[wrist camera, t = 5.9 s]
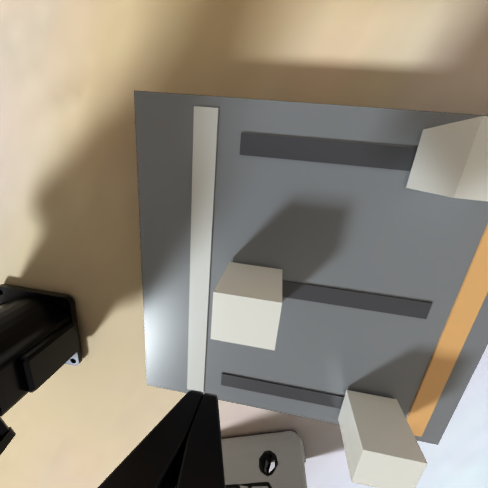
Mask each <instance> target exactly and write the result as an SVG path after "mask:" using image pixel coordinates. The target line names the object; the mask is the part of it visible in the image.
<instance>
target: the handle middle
mask: <svg viewBox="0 0 488 488" xmlns="http://www.w3.org/2000/svg"><path fill="white" fill-rule="evenodd" d="M281 307H282V269H275V268H268V267H262V266H255V265H248V264H241V263H234V262H229V263H228V265H227V267H226V269H225V271H224V273H223V275H222V277H221V278H220V280H219V282H218V284H217V286H216V288H215V290H214V292H213V305H212V322H211V339H213V340H219V341H224V342H230V343H235V344H241V345H247V346H252V347H258V348H263V349H269V350H274V351H275V345H276V338H277V332H278V326H279V320H280V314H281Z"/></svg>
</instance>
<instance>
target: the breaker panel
mask: <svg viewBox="0 0 488 488" xmlns="http://www.w3.org/2000/svg"><path fill="white" fill-rule="evenodd" d="M134 100H135V123H136V146H137V169H138V192H139V215H140V238H141V261H142V284H143V307H144V330H145V353H146V376H147V385H149V386H154V387H159V388H164V389H169V390H174V391H179V392H184V393H188V392H189V391H190V390H196V391H201V392H203V394H204V393H211V394H216V395H217V397H218V400H223V401H227V402H232V403H237V404H242V405H247V406H252V407H257V408H262V409H266V410H271V411H276V412H281V413H286V414H291V415H296V416H300V417H305V418H310V419H315V420H320V421H325V422H330V423H335V424H339V421H338V417H339V414H340V410H341V407H342V403H343V400H344V397H345V393H346V390H350V391H355V392H361V393H366V394H371V395H376V396H382V397H387V398H392V399H397V401H398V403H399V405H400V407H401V409H402V411H403V413H404V416H405V418H406V420H407V422H408V424H409V426H410V428H411V430H412V432H413V434H414V436H415V439H416V440H417V441H422V442H427V443H432V444H437V445H438V443H439V441H440V439H441V437H442V435H443V433H444V431H445V429H446V427H447V425H448V423H449V421H450V419H451V417H452V415H453V413H454V411H455V409H456V407H457V405H458V403H459V401H460V399H461V397H462V395H463V393H464V391H465V389H466V387H467V385H468V383H469V381H470V379H471V377H472V375H473V373H474V371H475V369H476V367H477V365H478V363H479V361H480V358H481V356H482V354H483V352H484V350H485V348H486V346H487V344H488V201H478V200H469V199H459V198H452V197H447V196H442V195H438V194H433V193H428V192H423V191H419V190H414V189H409V188H406V186H407V182H408V179H409V176H410V172H411V169H412V165H413V162H414V159H415V155H416V152H417V148H418V145H419V142H420V138H421V135H422V131H423V129H428V128H432V127H436V126H441V125H445V124H449V123H454V122H458V121H463V120H467V119H471V118H476V117H480V116H487V115H472V114H458V113H444V112H430V111H416V110H402V109H387V108H373V107H359V106H345V105H331V104H317V103H302V102H288V101H274V100H260V99H246V98H232V97H218V96H203V95H189V94H175V93H161V92H147V91H134ZM229 262H234V263H241V264H248V265H255V266H262V267H268V268H275V269H282V307H281V314H280V320H279V326H278V332H277V338H276V345H275V351H274V350H269V349H263V348H258V347H252V346H247V345H241V344H235V343H230V342H224V341H219V340H213V339H211V322H212V305H213V292H214V290H215V288H216V286H217V284H218V282H219V280H220V278H221V277H222V275H223V273H224V271H225V269H226V267H227V265H228V263H229Z"/></svg>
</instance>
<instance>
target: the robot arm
mask: <svg viewBox="0 0 488 488" xmlns="http://www.w3.org/2000/svg"><path fill="white" fill-rule="evenodd" d="M81 361H82V353H81V346H80V339H79V332H78V325H77V318H76V311H75V304H74V300H73V298H72V297H71V296H69V295H65V294H59V293H53V292H48V291H42V290H36V289H30V288H24V287H18V286H12V285H6V284H1V285H0V416H3V415H4V414H5V413H6V412H7V411H8V410H9V409H10V408H11V407H12V406H14V405H15V404H16V403H17V402H18V401H19V400H20V399H21V398H22V397H23V396H25V395H26V394H27V393H28V392H34V391H35V390H37V389H38V388H39V387H40V386H41V385H42V384H43V383H44V382H45V381H46V380H47V379H49V378H50V377H51V376H52V375H53V374H54V373H55V372H56V371H57V370H58V369H59V368H60V367H61V366H63V365H64V364H69V365H74V366H76V365H78V364H79V363H80V362H81ZM15 434H16V433H15V432H14V431H13V429H12V428H11V427H8V426H7V425H6V424H5V422H4V421H3V420H2V418H1V417H0V455H1V454H2V452H3V451H4V450H5V448H6V447H7V446H8V444H9V443H10V441H11V440H12V439H13V437H14V436H15ZM98 488H226V487H225V476H224V465H223V453H222V442H221V430H220V419H219V407H218V397H217V395H216V394H211V393H204V394H203V392H201V391H196V390H190V391H189V392H188V393H187V394H186V395H185V396H184V397H183V398H182V399H181V400H180V401H179V402H178V403H177V404H176V405H175V406H174V407H173V408H172V410H171V411H170V412H169V413H168V414H167V415H166V416H165V417H164V418H163V419H162V420H161V421H160V422H159V423H158V424H157V425H156V426H155V428H154V429H153V430H152V431H151V432H150V433H149V434H148V435H147V436H146V437H145V438H144V439H143V440H142V441H141V442H140V443H139V444H138V446H137V447H136V448H135V449H134V450H133V451H132V452H131V453H130V454H129V455H128V456H127V457H126V458H125V459H124V460H123V461H122V462H121V464H120V465H119V466H118V467H117V468H116V469H115V470H114V471H113V472H112V473H111V474H110V475H109V476H108V477H107V478H106V479H105V480H104V482H103V483H102V484H101V485H100V486H99V487H98Z"/></svg>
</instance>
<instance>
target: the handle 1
mask: <svg viewBox="0 0 488 488" xmlns="http://www.w3.org/2000/svg"><path fill="white" fill-rule="evenodd" d="M338 421H339V425H340V430H341V435H342V439H343V444H344V449H345V453H346V458H347V463H348V467H349V472H350V477H351V481H352V482H354V483H358V484H363V485H367V486H372V487H376V488H416V486H417V484H418V482H419V480H420V478H421V476H422V474H423V472H424V470H425V468H426V466H427V462H426V459H425V457H424V455H423V453H422V451H421V449H420V447H419V445H418V443H417V441H416V439H415V436H414V434H413V432H412V430H411V428H410V426H409V424H408V422H407V420H406V418H405V416H404V413H403V411H402V409H401V407H400V405H399V403H398V401H397V399H392V398H387V397H382V396H376V395H371V394H366V393H361V392H355V391H350V390H346V393H345V397H344V400H343V403H342V407H341V410H340V414H339V417H338Z"/></svg>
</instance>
